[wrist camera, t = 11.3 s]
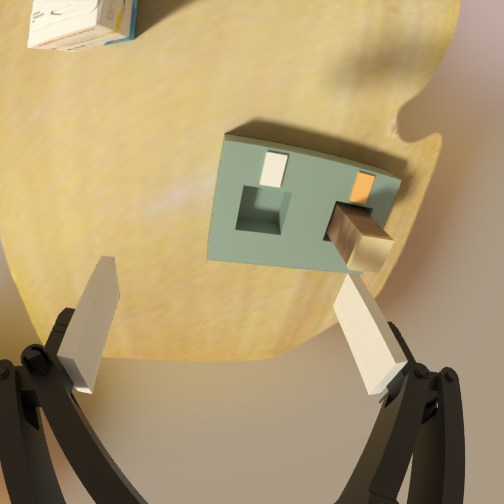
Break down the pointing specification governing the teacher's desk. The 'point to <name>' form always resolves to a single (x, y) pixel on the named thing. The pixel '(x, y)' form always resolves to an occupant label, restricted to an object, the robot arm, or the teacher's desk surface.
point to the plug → (358, 238)
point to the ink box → (81, 23)
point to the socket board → (288, 203)
